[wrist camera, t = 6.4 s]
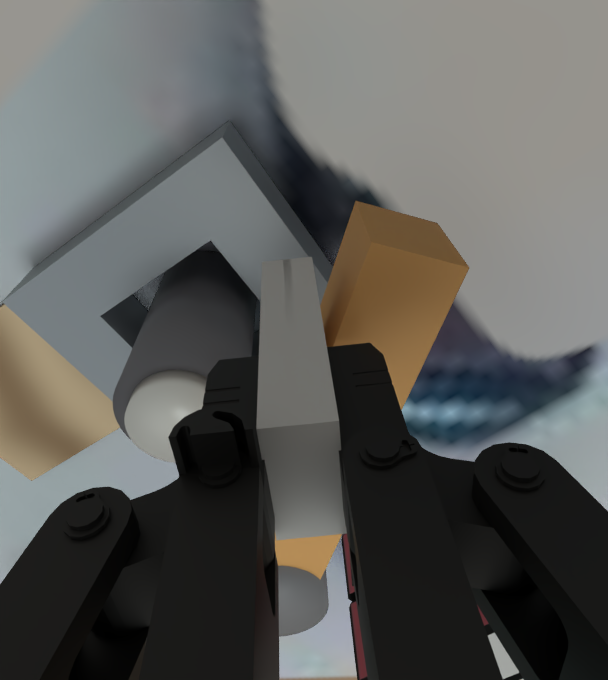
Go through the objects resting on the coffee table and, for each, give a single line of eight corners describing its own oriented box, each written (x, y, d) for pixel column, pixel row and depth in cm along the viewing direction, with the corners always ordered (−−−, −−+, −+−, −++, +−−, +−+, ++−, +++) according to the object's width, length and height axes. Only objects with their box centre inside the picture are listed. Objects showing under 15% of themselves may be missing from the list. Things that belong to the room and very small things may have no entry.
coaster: (19, 291, 27) (15, 296, 27) (144, 407, 31) (143, 413, 31) (-96, 377, 29) (-101, 383, 29) (34, 474, 34) (31, 480, 33)
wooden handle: (457, 228, 15) (496, 279, 12) (307, 562, 23) (311, 641, 20) (334, 194, 15) (347, 240, 12) (222, 550, 22) (213, 629, 19)
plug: (216, 232, 26) (184, 344, 17) (275, 305, 28) (272, 437, 20) (140, 284, 27) (76, 412, 19) (202, 350, 29) (170, 492, 21)
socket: (229, 120, 23) (199, 189, 15) (384, 340, 29) (428, 481, 21) (33, 268, 26) (-88, 397, 18) (209, 439, 33) (184, 597, 24)
